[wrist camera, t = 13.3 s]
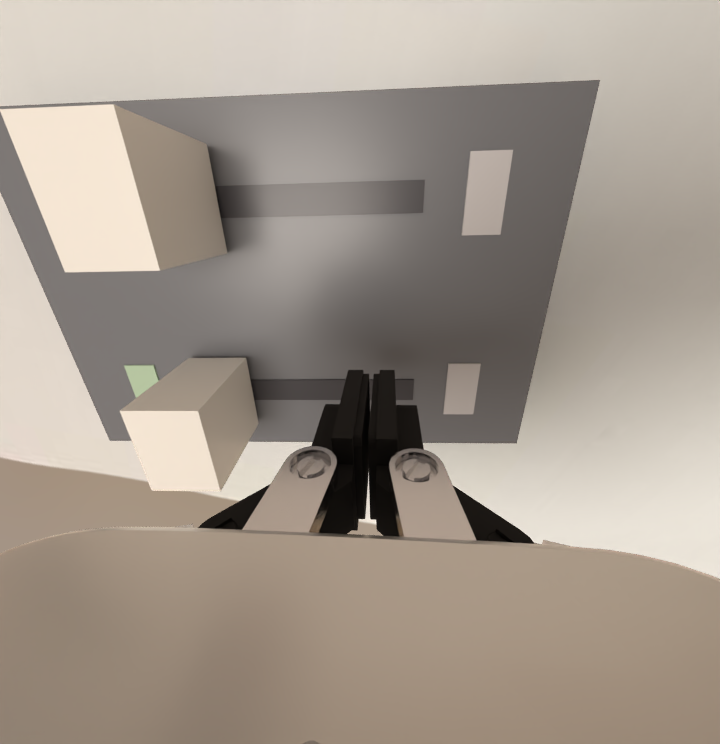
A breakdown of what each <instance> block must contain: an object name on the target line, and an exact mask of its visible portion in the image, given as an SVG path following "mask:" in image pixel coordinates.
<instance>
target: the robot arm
mask: <svg viewBox="0 0 720 744" xmlns="http://www.w3.org/2000/svg"><path fill="white" fill-rule="evenodd" d="M368 472H369V489H370V519H376V522H377V530H378V531H379V532H380V533H381V534H382V535H383V536H375V535H354V534H353V535H352V534H347V533H349V532H350V531H351V530H357V529H358V519H365V513H366V499H367V486H368ZM0 744H720V579H719V578H716V577H714V576H711V575H708V574H705V573H702V572H700V571H697V570H694V569H691V568H688V567H685V566H682V565H679V564H676V563H672V562H668V561H664V560H660V559H655V558H651V557H647V556H643V555H637V554H631V553H625V552H619V551H613V550H605V549H593V548H582V547H572V546H567V545H563V544H559V543H555V542H550V541H546V540H543V543H542V544H537V543H534V542H533V541H532V540H531V538H530V537H528V536H527V535H526V534H525V533H523V532H522V531H521V530H520V529H518V528H516V527H515V526H513V525H512V524H510V523H509V522H507V521H506V520H504V519H503V518H501V517H500V516H498V515H497V514H495V513H494V512H492V511H491V510H489V509H488V508H486V507H485V506H483V505H482V504H480V503H479V502H477V501H476V500H474V499H473V498H471V497H469V496H468V495H466V494H465V493H463V492H462V491H460V490H459V489H457V488H456V487H454V486H453V485H452V483H451V480H450V478H449V476H448V474H447V471H446V469H445V467H444V464H443V463H442V461H441V460H440V458H438V457H437V456H436V455H435V454H433V453H431V452H429V451H427V450H424V449H423V442H422V436H421V429H420V422H419V415H418V409H417V405H396V390H395V370H380V373H379V374H374V376H373V388H372V400H371V411H370V382H369V374H364V371H363V370H348V373H347V377H346V381H345V385H344V389H343V393H342V397H341V401H340V404H325V406H324V409H323V412H322V415H321V418H320V421H319V424H318V427H317V431H316V434H315V437H314V440H313V443H312V446H310V447H305V448H302V449H299V450H297V451H295V452H294V453H292V454H291V455H290V456H289V457H288V458H287V459H286V460H285V462H284V464H283V465H282V467H281V468H280V470H279V472H278V473H277V475H276V476H275V478H274V480H273V481H272V483H271V484H270V485H268V486H266V487H265V488H263V489H261V490H259V491H257V492H256V493H254V494H252V495H250V496H248V497H247V498H245V499H243V500H241V501H239V502H238V503H236V504H234V505H233V506H230V507H229V508H227V509H225V510H223V511H222V512H220V513H218V514H216V515H214V516H213V517H211V518H209V519H208V520H207V521H205V522H204V523H202V524H201V525H200V527H198V528H194V526H193V525H192V524H191V525H184V526H178V527H108V528H95V529H85V530H79V531H73V532H67V533H62V534H58V535H54V536H50V537H46V538H43V539H39V540H35V541H31V542H28V543H26V544H23V545H20V546H17V547H14V548H12V549H9V550H7V551H4V552H2V553H0Z"/></svg>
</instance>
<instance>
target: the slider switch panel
mask: <svg viewBox="0 0 720 744" xmlns="http://www.w3.org/2000/svg"><path fill="white" fill-rule="evenodd" d="M599 82H600V80H591V81H568V82H545V83H522V84H500V85H477V86H454V87H431V88H409V89H386V90H363V91H340V92H318V93H295V94H272V95H249V96H227V97H204V98H181V99H158V100H135V101H113V102H90V103H67V104H44V105H22V106H0V109H16V108H39V107H62V106H85V105H108V104H114V105H116V106H119V107H121V108H123V109H126V110H128V111H130V112H133V113H135V114H137V115H140V116H142V117H144V118H147V119H149V120H151V121H154V122H156V123H159V124H161V125H163V126H166V127H168V128H170V129H173V130H175V131H177V132H180V133H182V134H184V135H187V136H189V137H191V138H194V139H196V140H198V141H201V142H203V143H205V144H207V148H208V153H209V158H210V164H211V169H212V174H213V180H214V185H215V190H216V195H217V201H218V206H219V211H220V217H221V222H222V227H223V233H224V238H225V243H226V248H227V254H223V255H219V256H215V257H211V258H207V259H204V260H200V261H196V262H192V263H188V264H184V265H180V266H176V267H172V268H168V269H165V270H161V271H116V272H65V271H64V268H63V266H62V264H61V261H60V259H59V256H58V254H57V251H56V249H55V246H54V244H53V241H52V239H51V236H50V234H49V231H48V229H47V226H46V224H45V221H44V219H43V216H42V214H41V211H40V209H39V206H38V204H37V201H36V199H35V196H34V194H33V192H32V189H31V187H30V184H29V182H28V179H27V177H26V174H25V172H24V169H23V167H22V164H21V162H20V159H19V157H18V154H17V152H16V149H15V147H14V144H13V142H12V139H11V137H10V134H9V132H8V129H7V127H6V124H5V122H4V120H3V117H2V115H1V112H0V192H1V194H2V197H3V199H4V201H5V204H6V206H7V208H8V210H9V213H10V215H11V217H12V219H13V222H14V224H15V226H16V229H17V231H18V233H19V235H20V238H21V240H22V242H23V244H24V247H25V249H26V251H27V254H28V256H29V258H30V260H31V263H32V265H33V267H34V269H35V272H36V274H37V276H38V278H39V281H40V283H41V285H42V288H43V290H44V292H45V294H46V297H47V299H48V301H49V303H50V306H51V308H52V310H53V313H54V315H55V317H56V319H57V322H58V324H59V326H60V328H61V331H62V333H63V335H64V337H65V340H66V342H67V344H68V347H69V349H70V351H71V353H72V356H73V358H74V360H75V362H76V365H77V367H78V369H79V372H80V374H81V376H82V378H83V381H84V383H85V385H86V387H87V390H88V392H89V394H90V397H91V399H92V401H93V403H94V406H95V408H96V410H97V412H98V415H99V417H100V419H101V421H102V424H103V426H104V428H105V431H106V433H107V435H108V437H109V440H110V441H132V440H131V438H130V435H129V433H128V431H127V428H126V426H125V423H124V421H123V418H122V416H121V413H120V410H121V409H123V408H124V407H125V406H127V405H128V404H129V403H131V402H132V401H133V400H134V399H136V398H137V397H138V396H140V395H141V394H142V393H144V392H145V391H146V390H147V389H149V388H150V387H151V386H153V385H154V384H155V383H157V382H158V381H159V380H161V379H162V378H163V377H164V376H166V375H167V374H168V373H170V372H171V371H172V370H174V369H175V368H176V367H178V366H179V365H180V364H181V363H183V362H184V361H185V360H187V359H188V358H246V360H247V365H248V370H249V375H250V381H251V386H252V391H253V396H254V402H255V407H256V412H257V417H258V423H259V424H258V425H257V427H256V429H255V431H254V433H253V434H252V436H251V438H250V440H249V441H252V442H313V440H314V437H315V434H316V431H317V427H318V424H319V421H320V418H321V415H322V412H323V409H324V406H325V404H340V401H341V397H342V393H343V389H344V385H345V381H346V377H347V373H348V370H363V371H364V374H369V382H370V411H371V400H372V388H373V376H374V374H379V373H380V370H395V390H396V405H417V409H418V415H419V422H420V429H421V436H422V442H423V443H517V439H518V434H519V430H520V426H521V421H522V417H523V413H524V408H525V404H526V400H527V395H528V391H529V387H530V382H531V378H532V373H533V369H534V365H535V360H536V356H537V352H538V347H539V343H540V339H541V334H542V330H543V326H544V321H545V317H546V313H547V308H548V304H549V299H550V295H551V291H552V286H553V282H554V278H555V273H556V269H557V265H558V260H559V256H560V252H561V247H562V243H563V239H564V234H565V230H566V225H567V221H568V217H569V212H570V208H571V204H572V199H573V195H574V191H575V186H576V182H577V178H578V173H579V169H580V165H581V160H582V156H583V151H584V147H585V143H586V138H587V134H588V130H589V125H590V121H591V117H592V112H593V108H594V104H595V99H596V95H597V91H598V86H599Z"/></svg>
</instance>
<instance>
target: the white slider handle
mask: <svg viewBox="0 0 720 744" xmlns="http://www.w3.org/2000/svg"><path fill="white" fill-rule="evenodd" d="M120 413H121V416H122V418H123V421H124V423H125V426H126V428H127V431H128V433H129V435H130V438H131V440H132V443H133V445H134V448H135V450H136V453H137V455H138V458H139V460H140V463H141V465H142V468H143V470H144V473H145V475H146V477H147V480H148V482H149V485H150V487H151V490H155V491H221V490H222V488H223V486H224V484H225V483H226V481H227V479H228V477H229V476H230V474H231V472H232V470H233V468H234V467H235V465H236V463H237V461H238V459H239V458H240V456H241V454H242V452H243V450H244V449H245V447H246V445H247V443H248V441H249V440H250V438H251V436H252V434H253V433H254V431H255V429H256V427H257V425H258V424H259V423H258V417H257V412H256V407H255V402H254V396H253V391H252V386H251V381H250V375H249V370H248V365H247V360H246V358H188V359H187V360H185V361H184V362H183V363H181V364H180V365H179V366H178V367H176V368H175V369H174V370H172V371H171V372H170V373H168V374H167V375H166V376H164V377H163V378H162V379H161V380H159V381H158V382H157V383H155V384H154V385H153V386H151V387H150V388H149V389H147V390H146V391H145V392H144V393H142V394H141V395H140V396H138V397H137V398H136V399H134V400H133V401H132V402H131V403H129V404H128V405H127V406H125V407H124V408H123V409H121V410H120Z"/></svg>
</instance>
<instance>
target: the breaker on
mask: <svg viewBox="0 0 720 744" xmlns="http://www.w3.org/2000/svg"><path fill="white" fill-rule="evenodd" d="M0 112H1V115H2V117H3V120H4V122H5V124H6V127H7V129H8V132H9V134H10V137H11V139H12V142H13V144H14V147H15V149H16V152H17V154H18V157H19V159H20V162H21V164H22V167H23V169H24V172H25V174H26V177H27V179H28V182H29V184H30V187H31V189H32V192H33V194H34V196H35V199H36V201H37V204H38V206H39V209H40V211H41V214H42V216H43V219H44V221H45V224H46V226H47V229H48V231H49V234H50V236H51V239H52V241H53V244H54V246H55V249H56V251H57V254H58V256H59V259H60V261H61V264H62V266H63V268H64V271H65V272H116V271H161V270H165V269H168V268H172V267H176V266H180V265H184V264H188V263H192V262H196V261H200V260H204V259H207V258H211V257H215V256H219V255H223V254H227V248H226V243H225V238H224V233H223V227H222V222H221V217H220V211H219V206H218V201H217V195H216V190H215V185H214V180H213V174H212V169H211V164H210V158H209V153H208V148H207V144H205V143H203V142H201V141H198V140H196V139H194V138H191V137H189V136H187V135H184V134H182V133H180V132H177V131H175V130H173V129H170V128H168V127H166V126H163V125H161V124H159V123H156V122H154V121H151V120H149V119H147V118H144V117H142V116H140V115H137V114H135V113H133V112H130V111H128V110H126V109H123V108H121V107H119V106H116V105H114V104H108V105H85V106H62V107H39V108H16V109H0Z"/></svg>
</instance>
